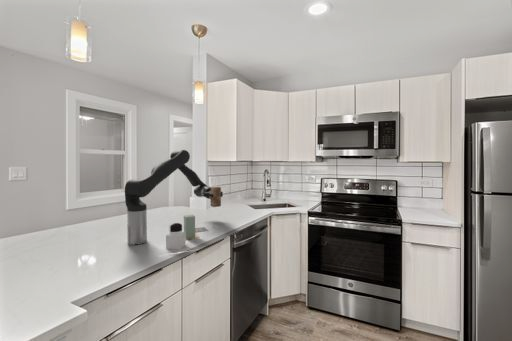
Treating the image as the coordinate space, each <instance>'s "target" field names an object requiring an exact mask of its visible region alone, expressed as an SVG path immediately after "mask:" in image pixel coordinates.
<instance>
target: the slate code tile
mask: <svg viewBox="0 0 512 341" xmlns="http://www.w3.org/2000/svg"><path fill="white" fill-rule="evenodd" d="M204 232H210V231H209V229H207V228H206V227H205V226H204V227H202V226H201V227H195V234H198V233H204Z"/></svg>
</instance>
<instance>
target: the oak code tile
mask: <svg viewBox="0 0 512 341" xmlns="http://www.w3.org/2000/svg"><path fill="white" fill-rule="evenodd" d="M199 239H200V240H201V237H200V236H199V235H198V233H195V238H190V239H186V238H185V242H186V241H192V240H199Z"/></svg>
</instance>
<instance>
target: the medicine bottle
mask: <svg viewBox="0 0 512 341" xmlns="http://www.w3.org/2000/svg"><path fill="white" fill-rule="evenodd" d="M168 227H169V228H168V229H169V230H168V231H169V233H168V234H166V235H165V249H166V250H167V249H168V250H181V249H182V248H183V247H185V245H186V241H185V232H184V231H183V224H182V223H180V222H174V223H173V222H172V223H171V224H169V226H168Z"/></svg>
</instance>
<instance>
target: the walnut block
mask: <svg viewBox="0 0 512 341" xmlns="http://www.w3.org/2000/svg"><path fill="white" fill-rule="evenodd" d="M210 187H211V193H212V194H213V198H212V197H211V199H210V206H211V207H213V208H217V207H219V208H220V207H221V206H222V204H221V203H222V197H221V191H222V187H221V186H210Z"/></svg>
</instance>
